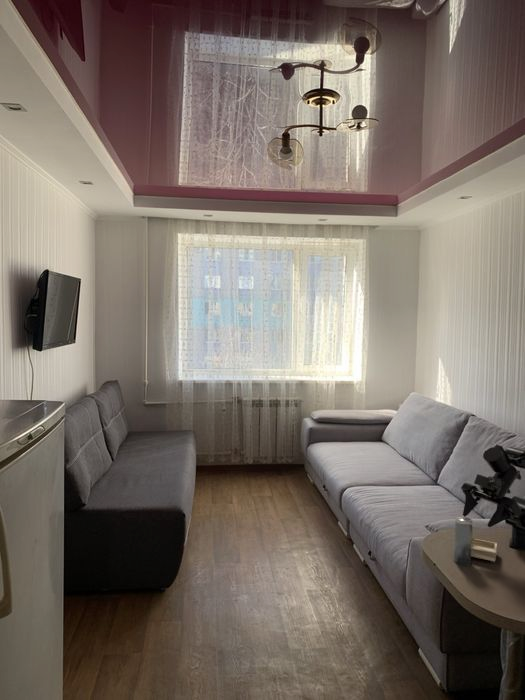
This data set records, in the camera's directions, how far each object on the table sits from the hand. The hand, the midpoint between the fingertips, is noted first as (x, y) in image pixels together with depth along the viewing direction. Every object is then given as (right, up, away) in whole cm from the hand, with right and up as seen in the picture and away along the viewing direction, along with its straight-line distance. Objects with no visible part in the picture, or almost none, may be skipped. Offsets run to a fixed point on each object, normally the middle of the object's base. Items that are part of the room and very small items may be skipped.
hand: (475, 520), depth 160 cm
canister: (-5, -12, -2) cm, 13 cm away
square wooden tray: (+3, -12, +2) cm, 12 cm away
